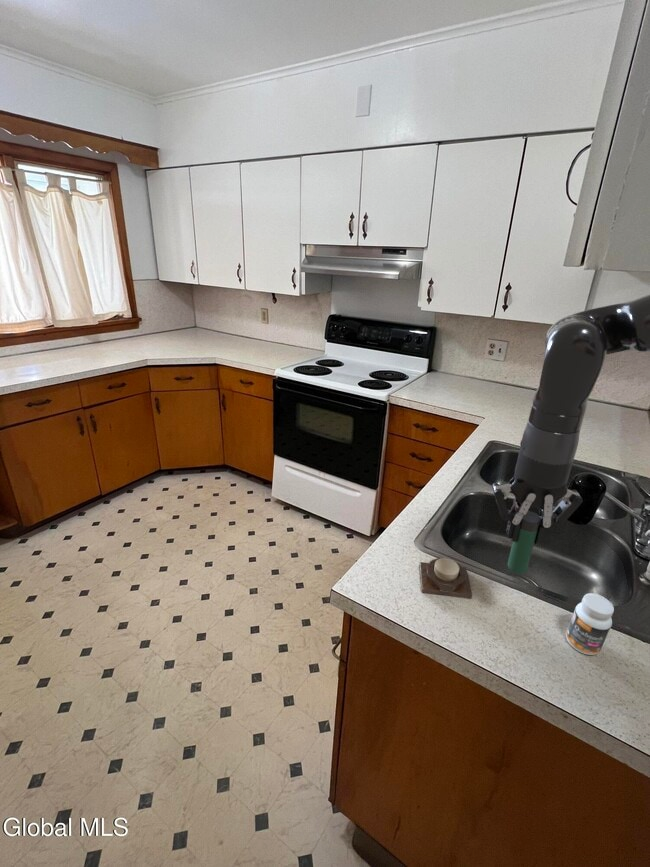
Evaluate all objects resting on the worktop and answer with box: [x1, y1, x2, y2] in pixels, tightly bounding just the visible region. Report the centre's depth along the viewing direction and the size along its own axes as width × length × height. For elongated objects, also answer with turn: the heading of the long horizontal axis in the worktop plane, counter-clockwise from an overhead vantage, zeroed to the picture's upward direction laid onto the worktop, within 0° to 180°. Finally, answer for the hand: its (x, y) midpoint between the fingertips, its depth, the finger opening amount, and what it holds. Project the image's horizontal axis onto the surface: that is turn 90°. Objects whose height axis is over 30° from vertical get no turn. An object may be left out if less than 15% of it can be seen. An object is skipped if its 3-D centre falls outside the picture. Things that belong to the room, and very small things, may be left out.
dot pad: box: [434, 557, 459, 581], centre depth 89 cm, size 5×5×2 cm
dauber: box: [507, 510, 540, 575], centre depth 73 cm, size 3×3×11 cm
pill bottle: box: [565, 592, 615, 656], centre depth 76 cm, size 6×6×10 cm
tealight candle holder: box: [419, 557, 473, 600], centre depth 90 cm, size 10×8×3 cm
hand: (524, 539), depth 72 cm, fingers closed on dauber, 3 cm apart
